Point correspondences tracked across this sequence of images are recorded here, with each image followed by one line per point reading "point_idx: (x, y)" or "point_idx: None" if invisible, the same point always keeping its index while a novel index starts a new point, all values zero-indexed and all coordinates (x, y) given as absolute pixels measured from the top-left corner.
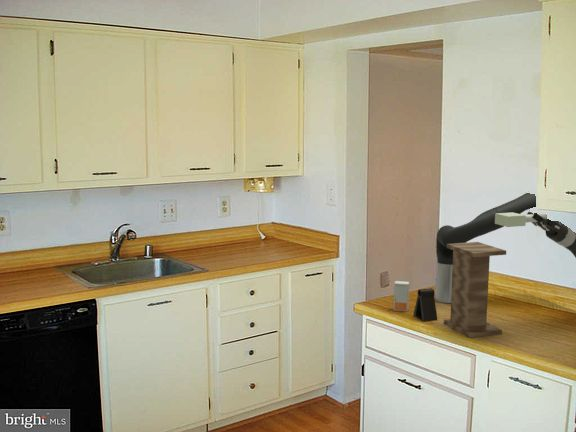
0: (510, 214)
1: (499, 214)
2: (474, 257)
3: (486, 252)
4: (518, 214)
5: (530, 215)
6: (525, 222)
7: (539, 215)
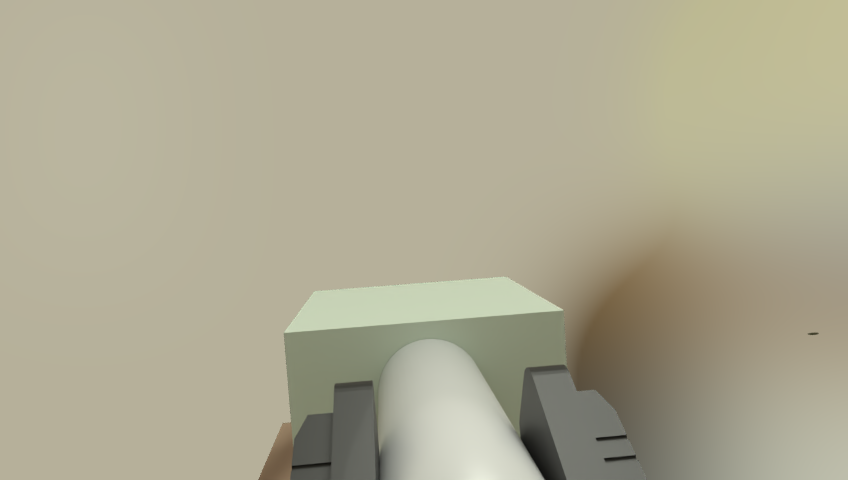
0: (415, 299)
1: (445, 281)
2: None
3: (270, 455)
4: (387, 316)
5: (407, 403)
6: (292, 426)
7: (330, 476)
